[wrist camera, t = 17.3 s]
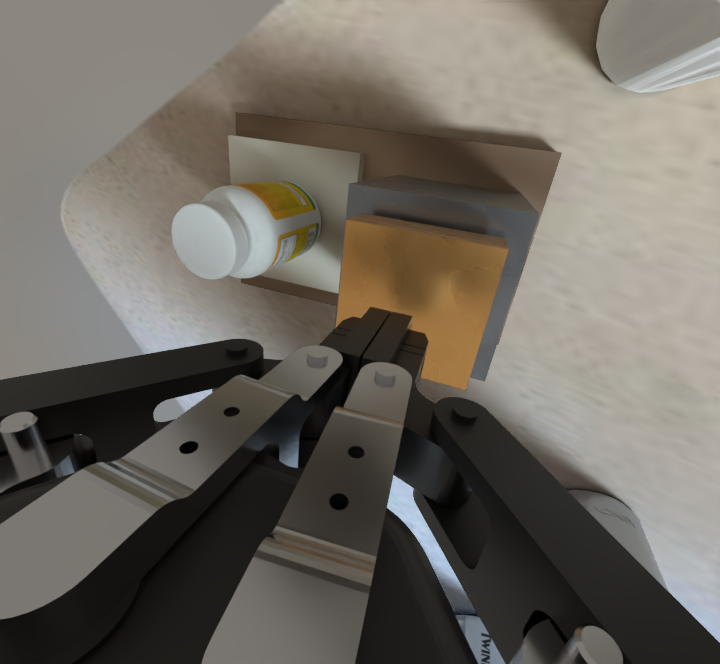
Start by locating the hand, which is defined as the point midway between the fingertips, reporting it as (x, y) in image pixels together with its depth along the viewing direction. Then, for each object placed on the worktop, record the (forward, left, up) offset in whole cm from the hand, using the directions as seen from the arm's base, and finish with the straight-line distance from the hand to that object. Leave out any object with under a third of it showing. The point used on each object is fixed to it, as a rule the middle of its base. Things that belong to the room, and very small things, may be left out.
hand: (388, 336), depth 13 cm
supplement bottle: (0, +11, -14) cm, 18 cm away
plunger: (0, 0, -14) cm, 14 cm away
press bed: (0, +5, -17) cm, 18 cm away
